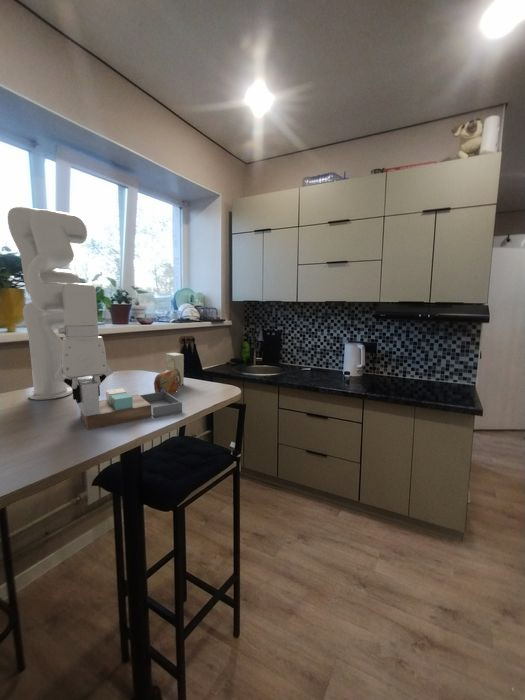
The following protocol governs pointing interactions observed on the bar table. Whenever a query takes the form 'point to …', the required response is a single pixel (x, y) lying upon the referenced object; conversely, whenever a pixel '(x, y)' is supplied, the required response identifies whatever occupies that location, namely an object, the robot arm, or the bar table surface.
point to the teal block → (121, 401)
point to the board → (118, 413)
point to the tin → (168, 381)
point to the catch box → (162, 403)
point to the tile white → (114, 393)
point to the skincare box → (176, 363)
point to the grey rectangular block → (88, 396)
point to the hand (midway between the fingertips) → (86, 399)
